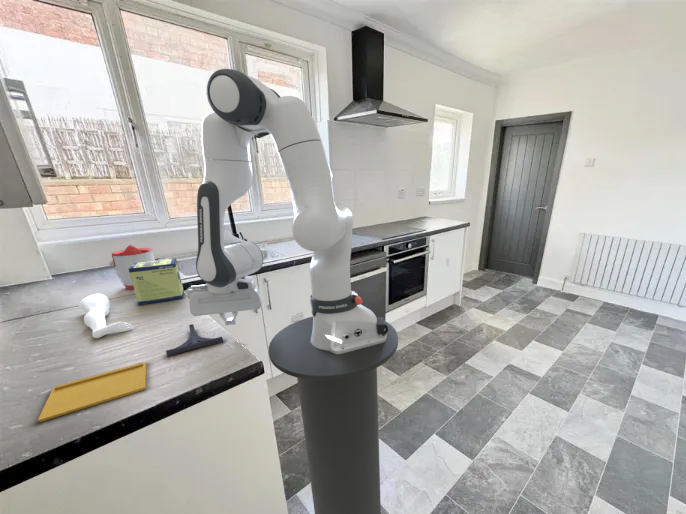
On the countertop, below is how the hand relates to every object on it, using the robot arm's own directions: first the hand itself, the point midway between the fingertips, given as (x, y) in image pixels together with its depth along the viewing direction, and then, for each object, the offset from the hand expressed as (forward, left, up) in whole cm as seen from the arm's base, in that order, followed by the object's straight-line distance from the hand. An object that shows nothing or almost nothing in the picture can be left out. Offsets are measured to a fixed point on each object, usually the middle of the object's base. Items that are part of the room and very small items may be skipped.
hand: (231, 324), depth 98 cm
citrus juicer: (+52, -67, -4) cm, 85 cm away
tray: (+26, +21, -4) cm, 34 cm away
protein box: (+35, -45, -4) cm, 57 cm away
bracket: (+11, 0, -4) cm, 12 cm away
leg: (+47, -26, -4) cm, 54 cm away
